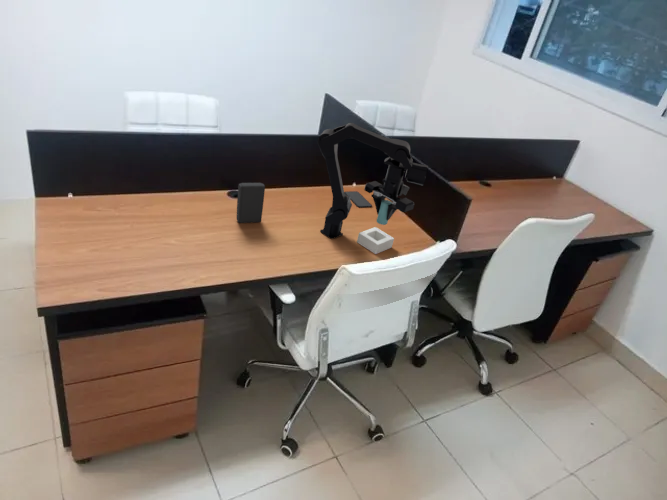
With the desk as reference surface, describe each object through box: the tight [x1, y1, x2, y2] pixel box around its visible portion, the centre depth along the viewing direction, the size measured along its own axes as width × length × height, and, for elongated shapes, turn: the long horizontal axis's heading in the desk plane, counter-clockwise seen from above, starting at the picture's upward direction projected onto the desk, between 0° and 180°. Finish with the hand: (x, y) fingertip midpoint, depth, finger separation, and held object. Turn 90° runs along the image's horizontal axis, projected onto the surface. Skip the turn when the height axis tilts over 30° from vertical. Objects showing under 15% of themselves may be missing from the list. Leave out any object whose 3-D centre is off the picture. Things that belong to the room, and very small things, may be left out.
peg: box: [376, 199, 393, 226], centre depth 172 cm, size 4×4×8 cm
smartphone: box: [344, 190, 373, 209], centre depth 210 cm, size 7×1×15 cm
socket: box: [356, 226, 395, 255], centre depth 178 cm, size 9×9×4 cm
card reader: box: [236, 182, 266, 224], centre depth 174 cm, size 9×4×15 cm, turn 113°
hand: (383, 217), depth 173 cm, fingers closed on peg, 4 cm apart
